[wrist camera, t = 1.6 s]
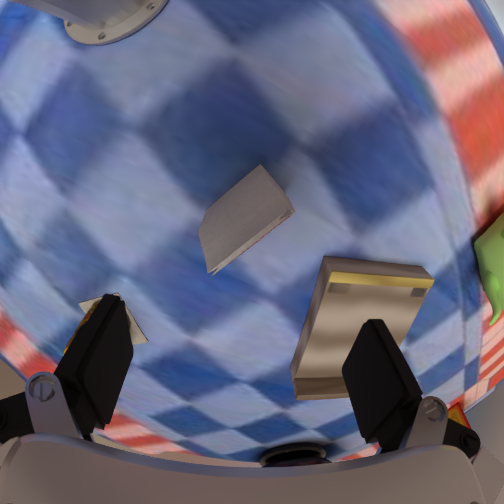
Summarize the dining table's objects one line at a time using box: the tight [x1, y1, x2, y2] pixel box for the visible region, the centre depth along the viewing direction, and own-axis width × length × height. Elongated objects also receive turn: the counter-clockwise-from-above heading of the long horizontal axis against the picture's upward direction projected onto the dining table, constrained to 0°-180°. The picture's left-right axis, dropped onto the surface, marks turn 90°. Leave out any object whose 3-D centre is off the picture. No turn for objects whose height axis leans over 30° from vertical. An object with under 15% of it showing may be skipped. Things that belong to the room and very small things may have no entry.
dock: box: [290, 256, 434, 400], centre depth 31 cm, size 18×14×6 cm
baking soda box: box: [448, 402, 471, 429], centre depth 47 cm, size 10×6×16 cm
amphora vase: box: [259, 444, 332, 468], centre depth 41 cm, size 22×22×28 cm
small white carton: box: [198, 164, 296, 276], centre depth 22 cm, size 4×7×10 cm, turn 131°
